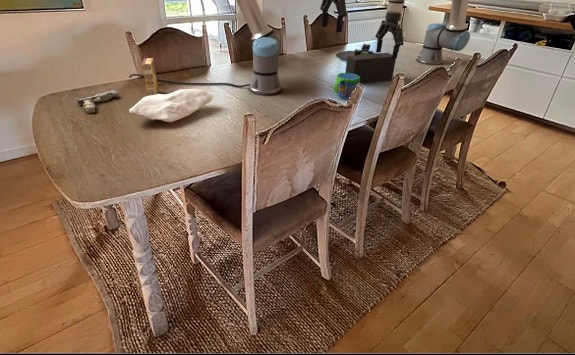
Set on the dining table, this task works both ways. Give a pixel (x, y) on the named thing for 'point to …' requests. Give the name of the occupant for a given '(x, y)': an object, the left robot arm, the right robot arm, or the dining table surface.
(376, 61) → the box
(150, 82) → the candy box
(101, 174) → the dining table surface
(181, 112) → the crumpled cloth
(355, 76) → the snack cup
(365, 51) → the grey disc with mount
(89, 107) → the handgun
